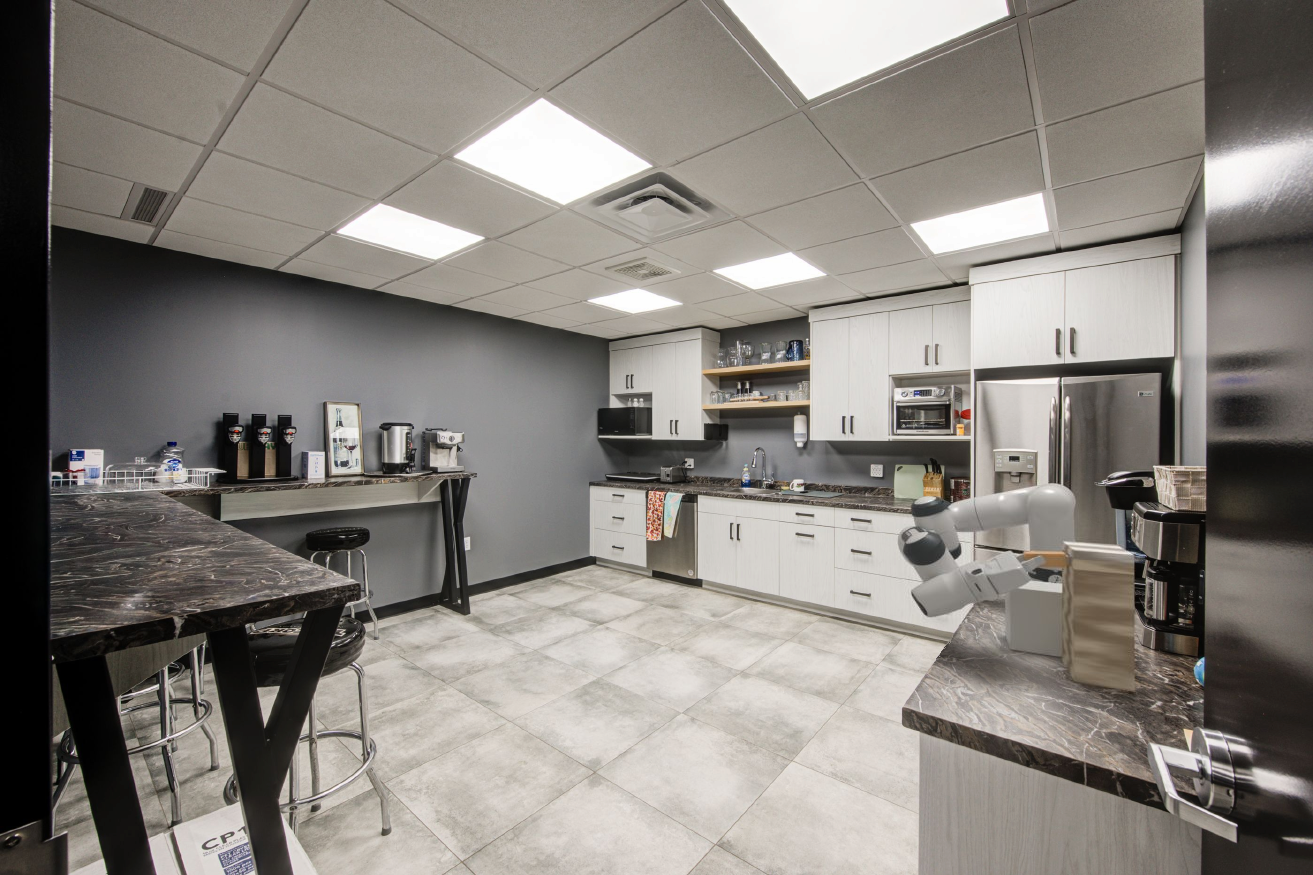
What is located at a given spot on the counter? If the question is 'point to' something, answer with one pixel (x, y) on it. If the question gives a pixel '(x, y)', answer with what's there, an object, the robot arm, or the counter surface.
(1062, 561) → the plug
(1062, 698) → the counter surface
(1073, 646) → the socket tower
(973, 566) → the robot arm
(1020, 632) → the pedestal
